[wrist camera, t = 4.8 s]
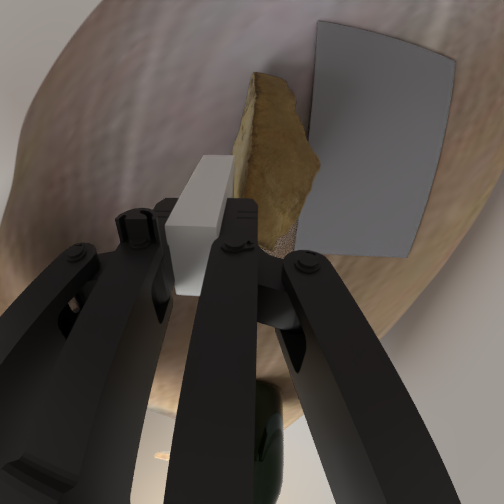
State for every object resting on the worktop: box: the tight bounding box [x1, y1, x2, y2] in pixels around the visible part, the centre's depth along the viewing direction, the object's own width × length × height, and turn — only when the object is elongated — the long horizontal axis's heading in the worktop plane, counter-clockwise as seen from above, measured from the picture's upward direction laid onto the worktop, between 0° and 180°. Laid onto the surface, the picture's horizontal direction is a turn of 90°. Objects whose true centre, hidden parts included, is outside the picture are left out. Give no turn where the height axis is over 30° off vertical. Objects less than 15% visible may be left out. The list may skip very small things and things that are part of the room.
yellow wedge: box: [231, 72, 321, 252], centre depth 18 cm, size 11×9×10 cm
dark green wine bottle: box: [253, 381, 283, 504], centre depth 31 cm, size 10×10×33 cm
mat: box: [294, 21, 455, 258], centre depth 21 cm, size 12×20×1 cm, turn 178°
